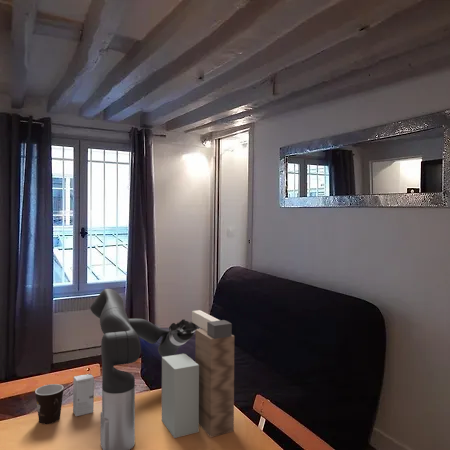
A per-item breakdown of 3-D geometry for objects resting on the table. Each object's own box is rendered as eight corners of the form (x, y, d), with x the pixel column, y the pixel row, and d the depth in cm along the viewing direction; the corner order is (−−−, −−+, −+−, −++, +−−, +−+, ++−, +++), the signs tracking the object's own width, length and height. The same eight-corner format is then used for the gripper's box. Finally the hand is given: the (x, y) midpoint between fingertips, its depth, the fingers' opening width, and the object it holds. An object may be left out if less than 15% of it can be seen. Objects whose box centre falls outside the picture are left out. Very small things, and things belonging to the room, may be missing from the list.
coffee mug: (37, 415, 138) (37, 385, 137) (64, 411, 140) (64, 382, 140) (31, 432, 126) (31, 400, 126) (61, 428, 129) (61, 397, 129)
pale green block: (174, 438, 124) (174, 369, 124) (161, 420, 135) (161, 357, 134) (198, 431, 128) (199, 365, 127) (184, 415, 138) (184, 353, 138)
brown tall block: (210, 437, 125) (211, 339, 124) (195, 419, 135) (195, 329, 135) (233, 431, 128) (234, 335, 128) (216, 414, 139) (217, 326, 138)
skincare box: (75, 417, 137) (75, 381, 136) (72, 411, 140) (72, 376, 140) (94, 412, 140) (94, 377, 140) (90, 407, 144) (90, 372, 143)
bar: (214, 338, 124) (214, 325, 124) (188, 322, 143) (188, 311, 143) (231, 336, 127) (231, 323, 127) (203, 320, 146) (203, 309, 146)
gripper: (161, 325, 155) (174, 312, 143) (196, 321, 162) (211, 308, 149) (165, 345, 152) (178, 333, 140) (200, 340, 159) (216, 328, 146)
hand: (195, 320), depth 145 cm, fingers open, 8 cm apart
